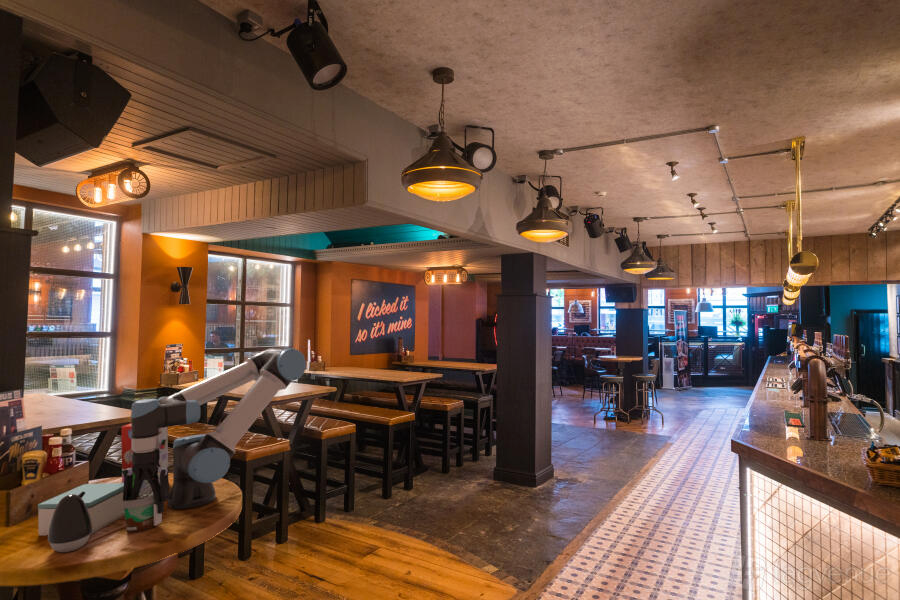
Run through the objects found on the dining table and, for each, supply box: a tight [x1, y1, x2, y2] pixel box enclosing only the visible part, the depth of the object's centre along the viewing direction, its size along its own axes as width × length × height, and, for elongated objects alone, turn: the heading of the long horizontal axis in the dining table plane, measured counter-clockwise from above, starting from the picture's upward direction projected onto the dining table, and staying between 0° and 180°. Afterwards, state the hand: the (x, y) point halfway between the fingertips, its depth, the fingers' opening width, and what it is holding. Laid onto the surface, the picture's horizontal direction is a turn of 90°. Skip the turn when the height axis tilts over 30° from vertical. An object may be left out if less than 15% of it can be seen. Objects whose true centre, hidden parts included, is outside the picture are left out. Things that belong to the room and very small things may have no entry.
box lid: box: [37, 482, 124, 509], centre depth 164 cm, size 16×18×1 cm
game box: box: [120, 422, 169, 496], centre depth 192 cm, size 21×6×27 cm, turn 0°
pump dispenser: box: [47, 492, 92, 553], centre depth 147 cm, size 10×10×15 cm
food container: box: [122, 491, 156, 534], centre depth 160 cm, size 12×6×10 cm, turn 169°
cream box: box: [37, 490, 125, 536], centre depth 164 cm, size 16×18×8 cm
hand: (146, 523), depth 160 cm, fingers closed on food container, 6 cm apart
